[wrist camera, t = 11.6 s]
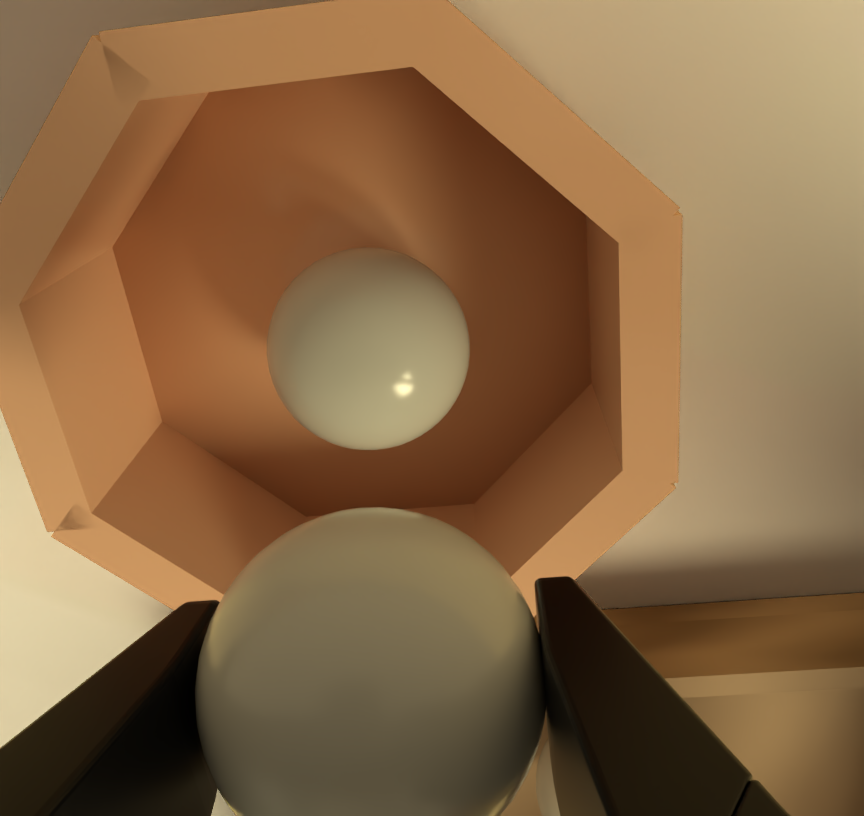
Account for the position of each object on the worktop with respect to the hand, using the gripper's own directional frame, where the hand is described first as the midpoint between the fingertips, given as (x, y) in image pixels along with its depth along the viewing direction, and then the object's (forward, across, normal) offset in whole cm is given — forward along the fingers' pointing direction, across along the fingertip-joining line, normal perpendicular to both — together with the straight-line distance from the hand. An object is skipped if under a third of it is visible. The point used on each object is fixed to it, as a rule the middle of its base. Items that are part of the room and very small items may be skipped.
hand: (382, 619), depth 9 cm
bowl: (+9, +1, -1) cm, 9 cm away
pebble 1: (+6, +1, -1) cm, 6 cm away
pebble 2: (-1, 0, 0) cm, 1 cm away
